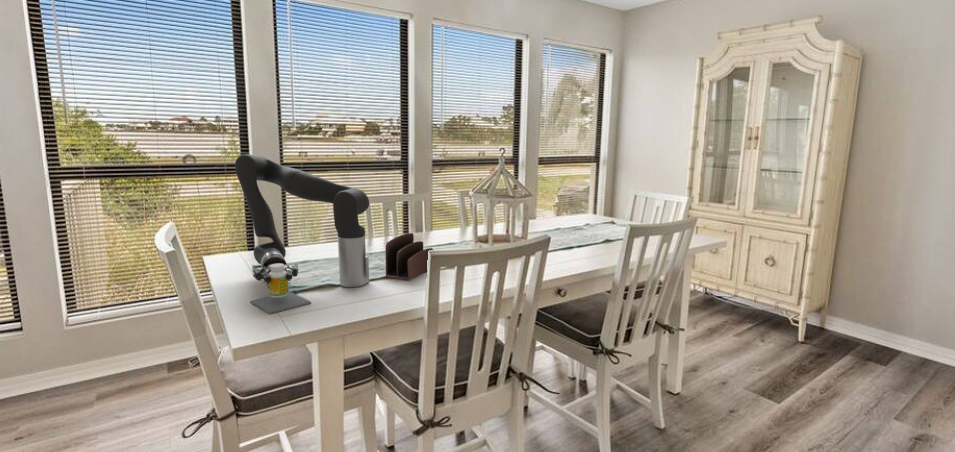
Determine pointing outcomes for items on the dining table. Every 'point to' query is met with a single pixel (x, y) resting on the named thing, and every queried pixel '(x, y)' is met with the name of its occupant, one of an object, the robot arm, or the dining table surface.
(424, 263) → the letter holder
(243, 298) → the dining table surface
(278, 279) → the supplement bottle
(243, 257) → the dining table surface
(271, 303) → the mat
